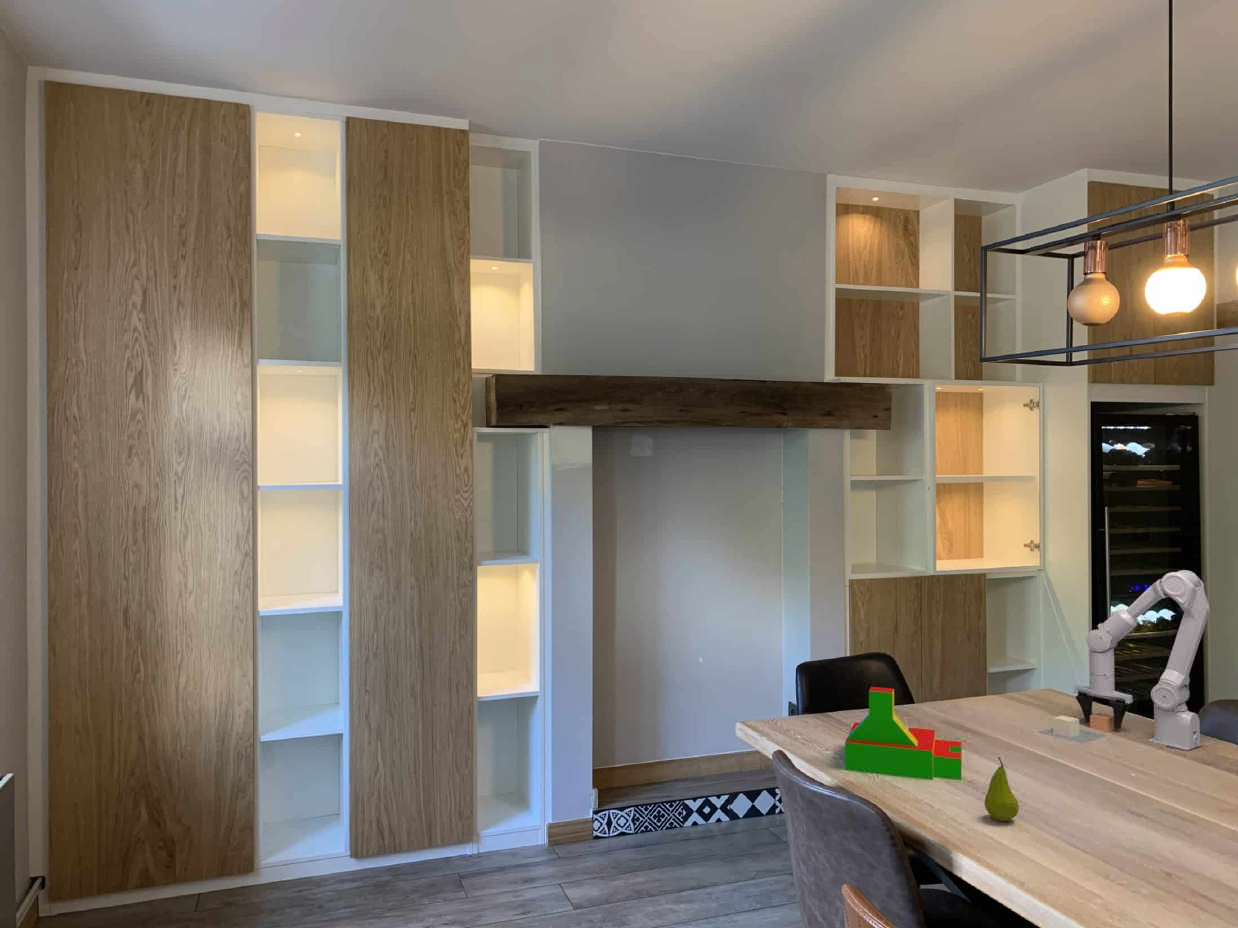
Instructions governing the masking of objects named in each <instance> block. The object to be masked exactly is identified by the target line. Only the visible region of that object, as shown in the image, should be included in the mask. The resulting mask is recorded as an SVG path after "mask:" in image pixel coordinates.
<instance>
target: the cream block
mask: <svg viewBox="0 0 1238 928" xmlns="http://www.w3.org/2000/svg"><path fill="white" fill-rule="evenodd" d="M1052 719H1053V720H1052V722H1053V727H1052V728H1053V733H1056V734H1060V735H1064V736H1068V737H1072V736H1075V735H1078V734H1079V729H1080V719H1079V718H1076V717H1073V716H1072V717H1071V716H1069V715H1068V716H1067V715H1062V714H1061V715H1059V716H1055V717H1053V718H1052Z"/></svg>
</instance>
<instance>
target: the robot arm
mask: <svg viewBox="0 0 1238 928" xmlns="http://www.w3.org/2000/svg"><path fill="white" fill-rule="evenodd" d="M1204 586H1205V584H1204V583H1203V581H1202V580H1201V579H1200V578H1199V577H1198V576H1197V574H1196V573H1195V572H1193V571H1191V570H1186V569H1181V570H1178V571H1173V572H1172V571H1171V572H1168V573H1166V574H1164V576H1163V577H1162V578H1160V579H1157V581H1155V582H1153V584H1152V585H1150V586H1149V587H1148V588H1147V589H1146V590H1144V592H1143V593H1142V594H1141V595H1139V597H1138V598H1137V599H1135V600H1134V601H1133V603H1132V604H1130V605H1129V606H1128V608H1126V609H1117V610H1112V611H1111V612H1110V613H1109V615H1110V617H1108V618H1107V619H1106V620H1105V621H1104V622H1102V623H1099V624H1098V625H1097V628H1098V629H1093V630H1090V631H1089V633H1088V634H1087V637H1086V645H1087V646H1088V648H1089V650H1090V651H1089V655H1090V656H1089V671H1090V673H1089V675H1090V678H1089V679H1090V681H1089V682H1090V684H1089V686H1084V685H1077V684H1076V685H1074V686H1073V694H1077V695H1076V696H1075V699H1076V701H1077V703H1078V704H1079V706H1080V708H1081V711H1082V714H1083V717H1084V720H1085V723H1090V715H1093V704H1094V703H1093V701H1094V697H1096V698H1100V699H1101V698H1102V699H1105V700H1110V701H1113V702H1111V707H1112V712H1113V716H1114V728H1115V730H1119V729H1121V728H1122V724H1123V719H1124V717H1125V715H1126V713H1127V711H1128V709H1129V708H1130V706H1131V704H1132V703H1133V695H1131V694H1128V693H1123V692H1121V691H1117V690H1115V650H1114V649H1115V648H1116V647H1117V646H1118V642H1120V641H1121V640H1122V639H1124V637H1126V635H1128V634H1129V633H1130V632H1131V631H1133V629H1135V628H1136V627H1137V625H1138V618H1139V617H1140V616H1142V614H1143V615H1144V613H1146V612H1147V611H1148V610H1149V609H1150V608H1152V607H1153V606H1154V605H1155V604H1157V603H1158V602H1159V601H1160V600H1162V599H1166V598H1171V599H1172V600H1174V601H1175V602H1176V603H1177V604H1178V605H1179V607H1180V608H1181V609H1182V611H1183V615H1182V619H1181V621H1180V625H1179V627H1178V631H1177V634H1176V637H1175V641H1174V643H1173V646H1172V649H1171V651H1170V655H1169V658H1168V661H1167V663H1166V664H1167V665H1166V668H1165V670H1164V671H1163V673H1162V675H1161V676H1160V678H1159V680H1158V683H1157V684H1156V685H1155V686H1154V687H1153V688H1151V691H1150V697H1151V700H1152V702H1153V708H1154V709H1153V714H1154V715H1153V720H1154V723H1153V724H1154V725H1153V727H1154V737H1151V738H1149V739H1147V741H1149V742H1153V743H1157V744H1161V745H1166V747H1171V748H1175V749H1179V750H1184V751H1190V750H1193V749H1196V748H1198V747H1201V746H1202V743H1201V732H1200V731H1201V728H1200V727H1201V723H1200V722H1201V721H1200V717H1199V715H1198V714H1197V713H1195V712H1192V711H1189V709H1188V707H1187V704H1186V702H1187V701H1188V700H1189V699H1190V694H1191V693H1190V689H1189V684H1190V672H1191V669H1192V666H1193V662H1194V660H1195V657H1196V654H1197V650H1198V647H1199V644H1200V642H1201V639H1202V637H1203V633H1204V629H1205V627H1206V625H1207V621H1208V618H1209V615H1210V611H1211V608H1210V605H1209V601H1208V599H1207V596H1206V593H1205V592H1206V591H1205V587H1204Z"/></svg>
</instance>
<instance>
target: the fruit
mask: <svg viewBox="0 0 1238 928" xmlns="http://www.w3.org/2000/svg"><path fill="white" fill-rule="evenodd" d="M997 758H998V760H999V762H1000V766H998V768H997V769H996V770H995V771H994V773H993V775H992V777H991V779H990V782H989V786H988V789H987V793H986V794H985V797H984V807H985V810H986V811H987V813H988V815H989V816H990V817H991V818H992V819H993V820H994V821H998V822H1010V821H1011V820H1012V819H1014V818H1015V817H1016V816H1017V815H1018V813H1019V809H1020V808H1019V807H1020V806H1019V802H1018V799H1017V798H1016V796H1015V795H1014V793H1013V792H1012V789H1011V786H1010V785H1009V781H1008V776H1007V772H1006V769H1005V767H1004V764H1003V762H1002V759H1001V757H1000V756H998V757H997Z"/></svg>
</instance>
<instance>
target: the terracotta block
mask: <svg viewBox="0 0 1238 928" xmlns="http://www.w3.org/2000/svg"><path fill="white" fill-rule="evenodd" d="M1089 729H1092V730H1095V731H1096V730H1098V731H1100V732H1107V733H1108V732H1113V731H1115V730H1116V729H1115V728H1114V715H1110V714H1109V715H1108V714H1103V713H1100V712H1097V713H1093V714H1092V715H1090V722H1089Z"/></svg>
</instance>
